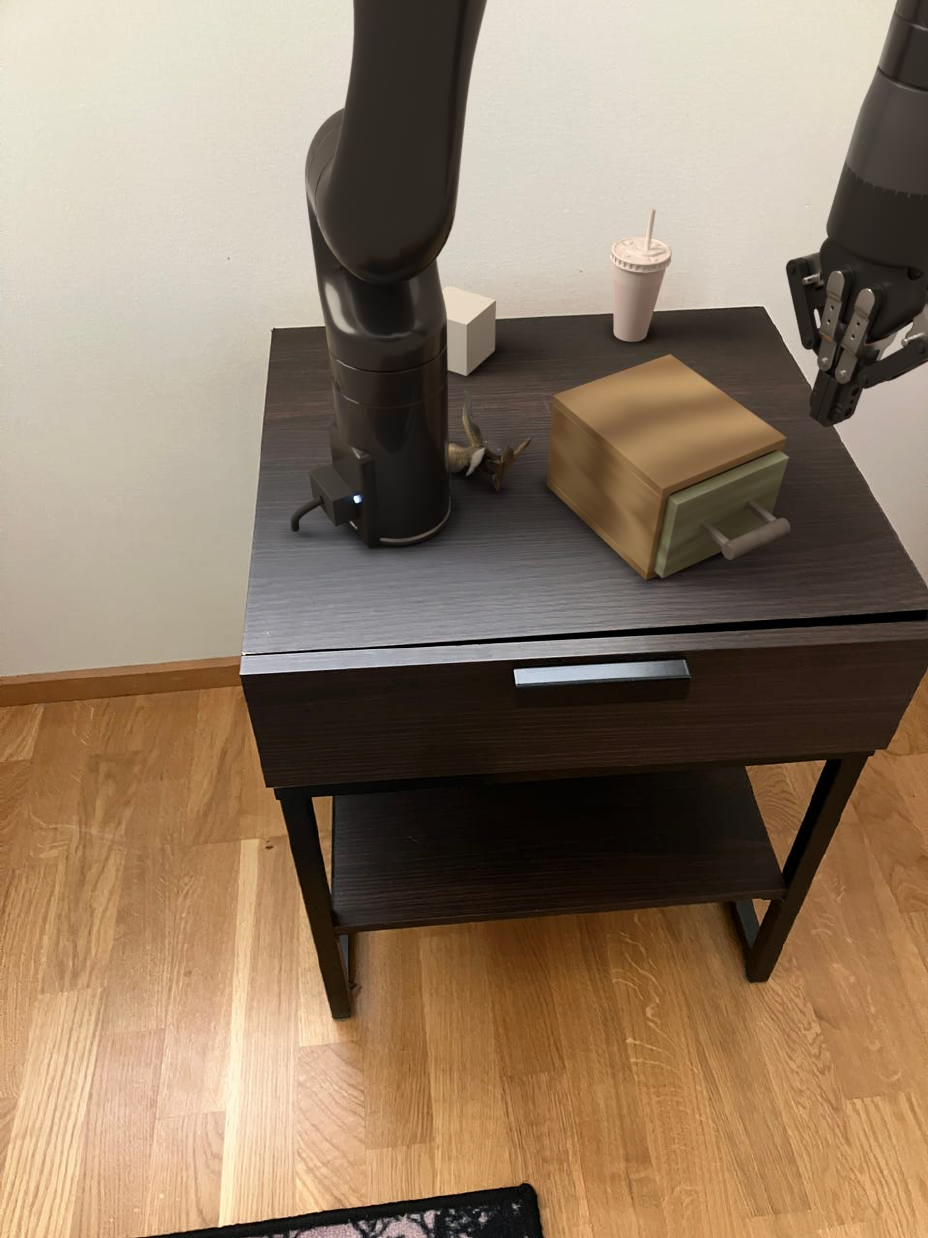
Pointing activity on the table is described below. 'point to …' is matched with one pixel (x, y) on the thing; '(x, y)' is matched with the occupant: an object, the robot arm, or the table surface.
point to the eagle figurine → (480, 450)
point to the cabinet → (645, 449)
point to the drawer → (723, 515)
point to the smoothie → (637, 282)
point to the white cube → (468, 329)
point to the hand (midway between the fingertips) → (827, 419)
